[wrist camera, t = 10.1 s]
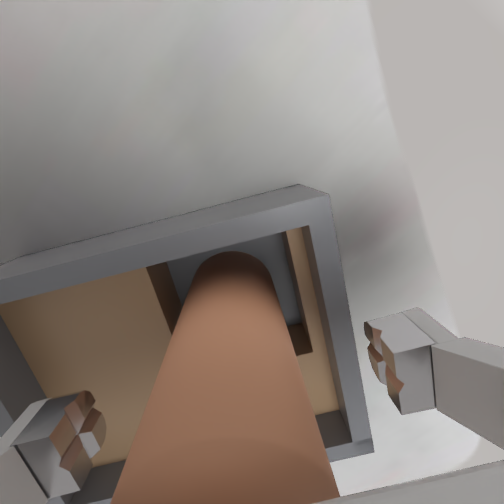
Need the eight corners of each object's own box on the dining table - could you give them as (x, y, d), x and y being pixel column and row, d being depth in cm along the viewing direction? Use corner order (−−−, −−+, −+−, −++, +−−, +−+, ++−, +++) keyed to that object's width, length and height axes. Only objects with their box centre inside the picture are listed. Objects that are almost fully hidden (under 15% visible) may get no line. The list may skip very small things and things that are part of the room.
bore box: (106, 427, 18) (57, 524, 13) (20, 256, 15) (-87, 302, 10) (337, 372, 17) (374, 452, 12) (298, 183, 14) (328, 194, 9)
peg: (205, 334, 15) (154, 622, 6) (180, 262, 14) (65, 472, 5) (281, 315, 15) (358, 574, 6) (262, 241, 14) (320, 410, 4)
